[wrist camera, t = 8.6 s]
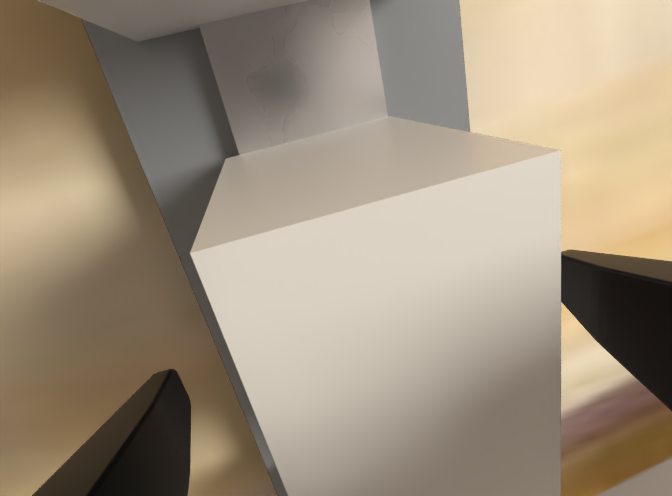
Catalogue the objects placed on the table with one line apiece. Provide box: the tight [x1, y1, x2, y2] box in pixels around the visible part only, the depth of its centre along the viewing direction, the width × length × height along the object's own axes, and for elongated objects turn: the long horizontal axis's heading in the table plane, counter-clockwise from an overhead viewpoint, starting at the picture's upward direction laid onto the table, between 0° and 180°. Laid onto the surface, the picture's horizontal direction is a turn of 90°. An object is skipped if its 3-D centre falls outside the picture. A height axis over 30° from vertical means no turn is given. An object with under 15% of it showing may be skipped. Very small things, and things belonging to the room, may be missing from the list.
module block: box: [190, 116, 561, 496], centre depth 9 cm, size 5×8×6 cm, turn 13°
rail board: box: [37, 0, 470, 496], centre depth 11 cm, size 9×23×7 cm, turn 13°
